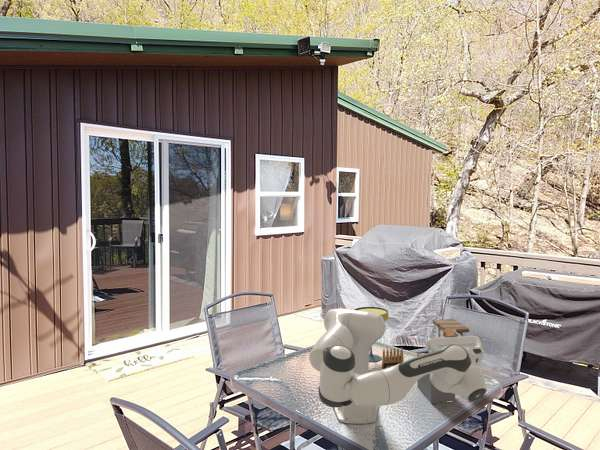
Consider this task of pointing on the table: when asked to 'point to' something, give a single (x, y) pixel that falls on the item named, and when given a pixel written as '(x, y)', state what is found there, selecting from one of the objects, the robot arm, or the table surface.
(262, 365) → the table surface
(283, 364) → the table surface
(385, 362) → the ammunition clip
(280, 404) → the table surface
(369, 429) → the table surface
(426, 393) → the grey concrete block
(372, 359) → the cocktail glass
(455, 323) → the wooden pedestal stand
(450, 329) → the wooden bar
